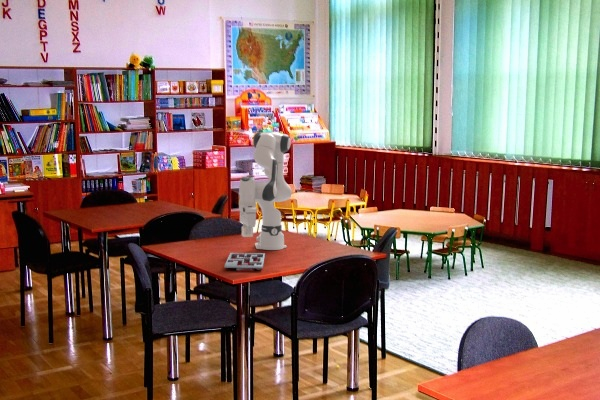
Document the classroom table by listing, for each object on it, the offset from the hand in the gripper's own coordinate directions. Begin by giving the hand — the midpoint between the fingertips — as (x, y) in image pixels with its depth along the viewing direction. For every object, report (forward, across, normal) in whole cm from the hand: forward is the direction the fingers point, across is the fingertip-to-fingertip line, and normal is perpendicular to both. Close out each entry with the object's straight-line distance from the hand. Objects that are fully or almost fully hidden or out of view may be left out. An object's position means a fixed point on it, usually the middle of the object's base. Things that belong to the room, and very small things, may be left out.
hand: (247, 233), depth 385 cm
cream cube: (+2, 0, 0) cm, 2 cm away
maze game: (+18, -1, -1) cm, 18 cm away
